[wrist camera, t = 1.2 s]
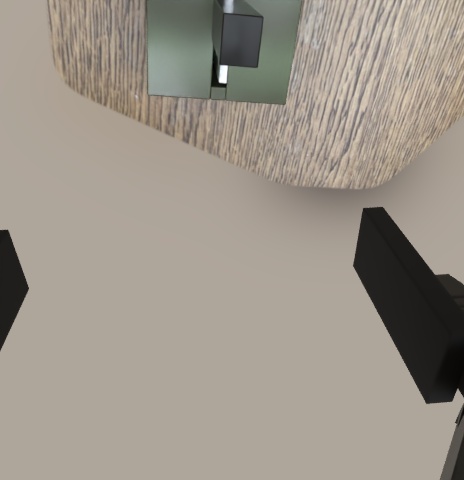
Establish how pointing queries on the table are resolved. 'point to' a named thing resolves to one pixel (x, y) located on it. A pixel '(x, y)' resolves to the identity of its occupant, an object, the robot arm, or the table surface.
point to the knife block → (201, 52)
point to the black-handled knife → (235, 36)
